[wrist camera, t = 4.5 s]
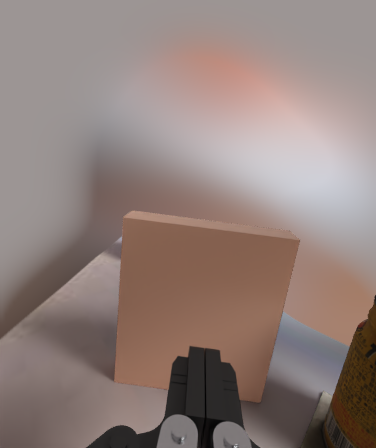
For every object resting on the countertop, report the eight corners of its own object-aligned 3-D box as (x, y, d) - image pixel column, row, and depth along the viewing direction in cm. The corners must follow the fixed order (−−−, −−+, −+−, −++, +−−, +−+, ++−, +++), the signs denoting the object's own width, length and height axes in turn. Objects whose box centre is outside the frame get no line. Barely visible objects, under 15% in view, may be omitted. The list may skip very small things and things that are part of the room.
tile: (260, 402, 21) (300, 240, 18) (114, 381, 22) (123, 217, 18) (255, 380, 24) (289, 230, 20) (122, 361, 24) (131, 210, 20)
